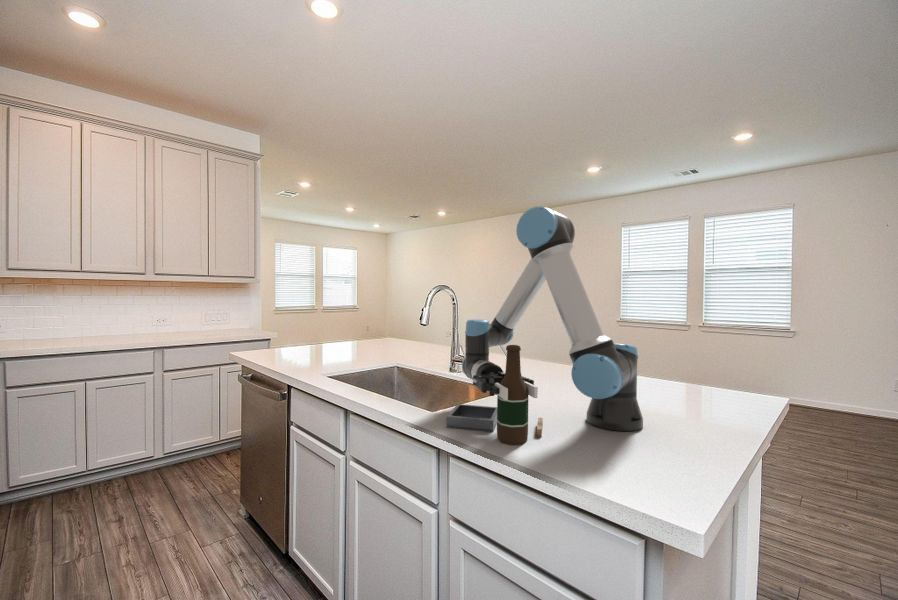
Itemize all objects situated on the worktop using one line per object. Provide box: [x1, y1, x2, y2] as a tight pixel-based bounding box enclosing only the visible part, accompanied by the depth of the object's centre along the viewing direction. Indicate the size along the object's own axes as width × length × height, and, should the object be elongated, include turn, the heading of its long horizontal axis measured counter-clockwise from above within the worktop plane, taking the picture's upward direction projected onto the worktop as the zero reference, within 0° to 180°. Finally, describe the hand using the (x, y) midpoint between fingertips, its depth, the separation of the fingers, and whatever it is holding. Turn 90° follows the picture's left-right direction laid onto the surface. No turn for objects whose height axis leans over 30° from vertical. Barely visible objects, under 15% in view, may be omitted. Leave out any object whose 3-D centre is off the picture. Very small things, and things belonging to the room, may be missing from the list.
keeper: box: [445, 403, 497, 433], centre depth 116 cm, size 13×13×3 cm
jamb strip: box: [536, 417, 544, 438], centre depth 109 cm, size 10×1×2 cm, turn 165°
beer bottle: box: [496, 344, 529, 446], centre depth 102 cm, size 8×8×24 cm
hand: (521, 393), depth 97 cm, fingers closed on beer bottle, 7 cm apart
